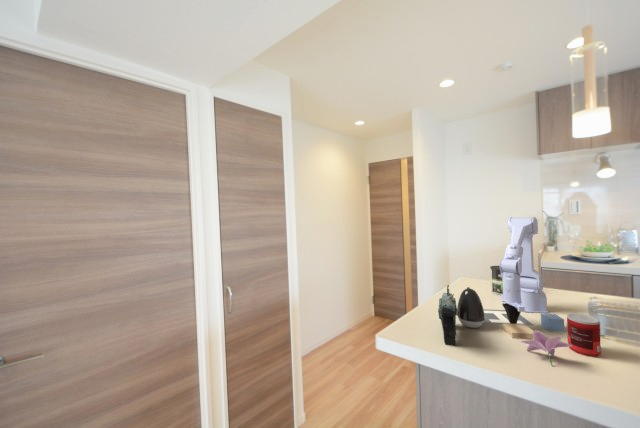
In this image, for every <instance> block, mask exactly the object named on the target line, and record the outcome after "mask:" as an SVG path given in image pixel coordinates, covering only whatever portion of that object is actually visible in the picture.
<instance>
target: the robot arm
mask: <svg viewBox="0 0 640 428" xmlns="http://www.w3.org/2000/svg"><path fill="white" fill-rule="evenodd" d="M507 228H508V230H509V232H510V233H511V238H510V243H509V244H506V248H505V252H504V255H503V259H500V261H499V266H500V271H501V277H502V279H503V294H501V295H500V299H499V301H500V302H501V303H502V304H501V305H502V307H503V310H505V311H506V313H507V316H508V320H509V322H510V323H511V324H517V321H518V317H519V315H521V313H537V314H538V313H539V314H549V311H548V301H547V300H548V299H547V294H546V293H545V292H544V291H543V290H544V289H543V288H544V279H543V275H542V274H541V273H540V272H539V271H537V270H536V269H535V268H534V267H535V266H534V264H535V263H534V248H533V245H534V244H533V237H534V235H535V236H536V235H537V234H538V233H539V222H538V219H537V218H536V217H535V216H533V217H531V216H529V217H528V216H527V217H525V216H524V217H512V216H510V217H509V218H508V220H507Z"/></svg>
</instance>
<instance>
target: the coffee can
mask: <svg viewBox="0 0 640 428" xmlns="http://www.w3.org/2000/svg"><path fill="white" fill-rule="evenodd" d="M489 268H490V283H491V284H490V287H491V288H490V289H491V291H490V292H491V293H493V294H496V295H499V296H501V294H503V279H502V277H501V271H500V265H490V267H489Z"/></svg>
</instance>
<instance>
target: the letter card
mask: <svg viewBox="0 0 640 428" xmlns="http://www.w3.org/2000/svg"><path fill="white" fill-rule="evenodd" d="M483 309H484V314H485V320H484V322H483V324H487V325H488V324H489V325H502V323H503V324H511V323H510V322H509V320H508V316H507V313H506V311H505V309H485V308H483ZM517 324H525V325H527V326H530V327H531V326H536V325H534V324H533V323H532V322H530V321H529V320H528V319H527V318H525V317H524V316H522V315H521V314H520V315H519V317H518V321H517Z"/></svg>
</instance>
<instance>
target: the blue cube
mask: <svg viewBox="0 0 640 428" xmlns="http://www.w3.org/2000/svg"><path fill="white" fill-rule="evenodd" d="M540 325H541V326H542V327H543V328H544V329H546V330H547V331H548V332H558V333H559V332H560V333H561V332H562V333H565V318H563V317H561V316H559V315H558V314H555V313H540Z"/></svg>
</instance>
